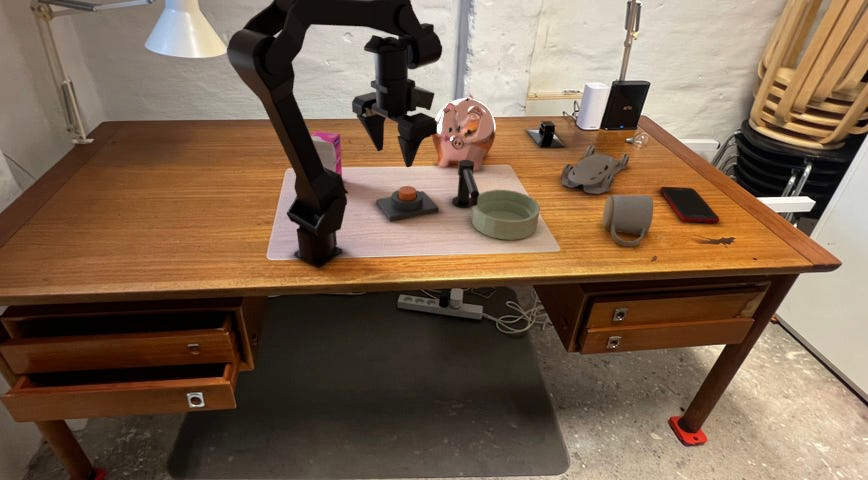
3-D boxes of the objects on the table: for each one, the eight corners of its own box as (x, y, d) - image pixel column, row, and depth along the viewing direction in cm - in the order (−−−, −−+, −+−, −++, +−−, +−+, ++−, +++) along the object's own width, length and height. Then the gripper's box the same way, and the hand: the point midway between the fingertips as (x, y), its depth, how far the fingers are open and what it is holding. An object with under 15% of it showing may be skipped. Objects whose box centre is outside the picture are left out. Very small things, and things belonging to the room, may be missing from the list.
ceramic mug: (599, 218, 107) (608, 185, 102) (639, 222, 106) (650, 189, 101) (605, 246, 98) (615, 211, 94) (649, 250, 97) (661, 216, 93)
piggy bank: (423, 172, 123) (426, 106, 113) (438, 144, 137) (442, 84, 128) (486, 180, 120) (494, 114, 111) (495, 151, 134) (503, 90, 125)
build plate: (526, 131, 147) (529, 115, 145) (550, 131, 148) (553, 115, 145) (540, 147, 137) (543, 131, 134) (565, 147, 138) (569, 130, 135)
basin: (519, 249, 96) (522, 229, 94) (459, 227, 102) (461, 208, 100) (546, 221, 105) (550, 201, 103) (489, 202, 111) (492, 184, 109)
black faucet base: (466, 210, 108) (469, 182, 104) (447, 204, 110) (449, 176, 106) (477, 202, 111) (480, 174, 108) (458, 195, 113) (461, 168, 110)
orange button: (402, 202, 105) (402, 195, 104) (396, 195, 107) (396, 187, 106) (418, 199, 106) (418, 192, 105) (411, 192, 109) (411, 184, 108)
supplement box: (335, 191, 113) (331, 142, 107) (310, 188, 114) (305, 140, 108) (343, 180, 118) (340, 133, 111) (319, 177, 119) (314, 130, 112)
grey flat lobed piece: (629, 166, 129) (635, 147, 126) (599, 202, 113) (604, 182, 110) (587, 155, 134) (591, 137, 131) (551, 188, 118) (556, 168, 115)
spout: (456, 174, 108) (457, 159, 106) (471, 174, 109) (472, 159, 107) (465, 206, 97) (467, 190, 95) (482, 206, 97) (484, 190, 95)
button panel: (389, 221, 103) (389, 209, 102) (376, 204, 109) (376, 191, 108) (438, 212, 107) (439, 199, 105) (422, 195, 113) (423, 183, 111)
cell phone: (682, 222, 106) (683, 218, 106) (658, 190, 118) (659, 186, 118) (719, 224, 106) (721, 220, 105) (691, 191, 118) (693, 187, 117)
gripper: (462, 79, 87) (457, 163, 96) (395, 55, 98) (397, 132, 108) (411, 93, 81) (412, 180, 91) (347, 66, 92) (353, 147, 102)
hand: (394, 158), depth 98 cm, fingers open, 9 cm apart
